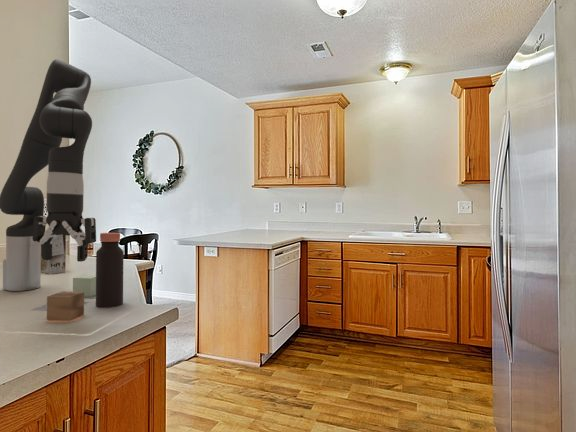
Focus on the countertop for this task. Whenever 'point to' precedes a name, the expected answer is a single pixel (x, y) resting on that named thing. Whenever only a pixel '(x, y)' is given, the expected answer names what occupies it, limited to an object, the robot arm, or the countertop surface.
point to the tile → (44, 307)
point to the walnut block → (65, 305)
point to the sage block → (85, 285)
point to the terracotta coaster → (65, 321)
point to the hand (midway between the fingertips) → (64, 260)
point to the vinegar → (109, 271)
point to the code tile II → (90, 297)
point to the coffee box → (56, 256)
